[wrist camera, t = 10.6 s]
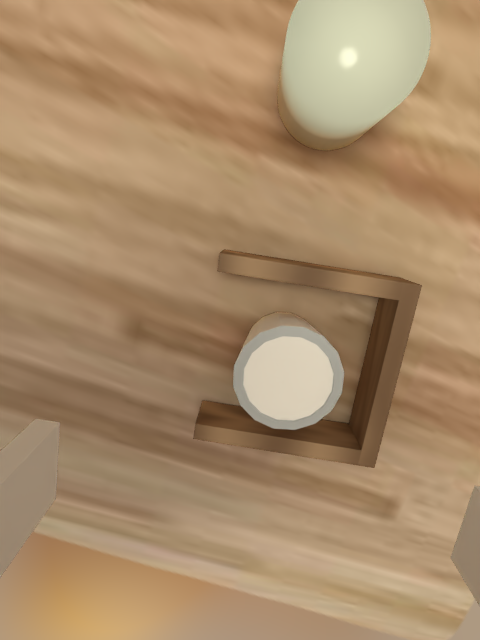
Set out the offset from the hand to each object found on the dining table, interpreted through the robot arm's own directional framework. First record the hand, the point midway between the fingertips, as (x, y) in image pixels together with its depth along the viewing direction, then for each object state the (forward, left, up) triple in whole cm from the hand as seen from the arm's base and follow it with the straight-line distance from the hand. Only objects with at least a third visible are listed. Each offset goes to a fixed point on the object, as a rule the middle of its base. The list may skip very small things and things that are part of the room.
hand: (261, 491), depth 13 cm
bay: (+3, -1, -19) cm, 19 cm away
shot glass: (+2, -1, -20) cm, 20 cm away
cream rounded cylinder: (+2, +17, -19) cm, 26 cm away
